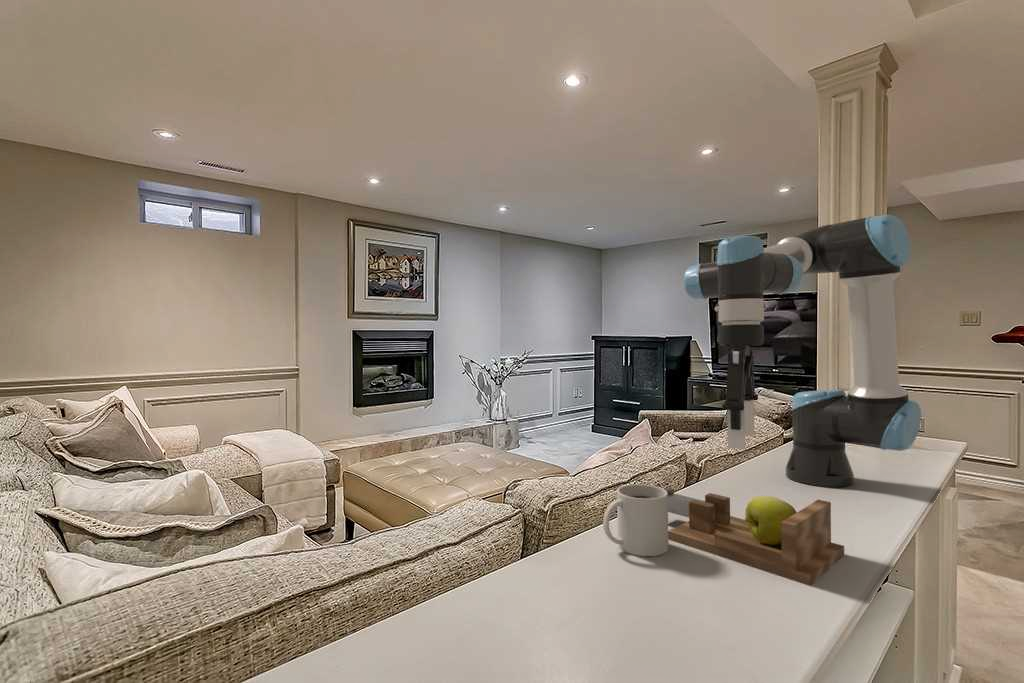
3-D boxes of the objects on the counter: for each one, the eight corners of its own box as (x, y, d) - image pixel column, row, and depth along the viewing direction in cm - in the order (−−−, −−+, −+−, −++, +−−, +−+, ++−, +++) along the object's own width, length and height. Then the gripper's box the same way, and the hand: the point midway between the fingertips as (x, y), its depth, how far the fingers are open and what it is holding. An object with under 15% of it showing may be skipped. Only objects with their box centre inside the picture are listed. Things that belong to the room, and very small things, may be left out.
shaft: (668, 508, 106) (668, 487, 106) (715, 521, 98) (715, 498, 98) (656, 513, 103) (656, 491, 103) (704, 527, 95) (703, 504, 95)
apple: (732, 537, 91) (732, 493, 91) (774, 531, 93) (774, 488, 93) (765, 555, 83) (765, 507, 83) (810, 548, 86) (809, 501, 86)
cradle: (710, 518, 105) (710, 477, 105) (844, 554, 87) (843, 505, 87) (668, 539, 94) (667, 493, 94) (809, 585, 76) (809, 529, 76)
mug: (669, 539, 94) (668, 486, 94) (667, 561, 85) (666, 502, 85) (610, 533, 98) (609, 481, 98) (602, 553, 89) (601, 496, 89)
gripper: (728, 325, 104) (729, 428, 104) (705, 323, 83) (707, 452, 83) (769, 324, 100) (770, 431, 101) (756, 321, 79) (757, 457, 79)
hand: (741, 441), depth 92 cm, fingers open, 13 cm apart
